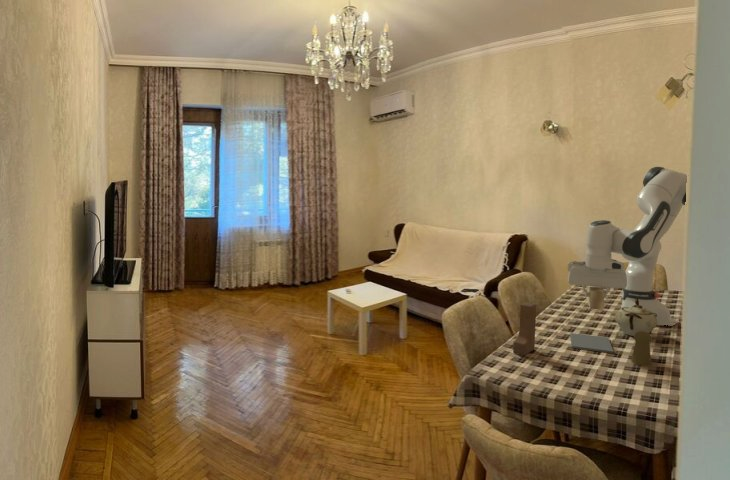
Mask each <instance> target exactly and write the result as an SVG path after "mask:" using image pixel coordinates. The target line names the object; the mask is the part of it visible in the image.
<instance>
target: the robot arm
mask: <svg viewBox="0 0 730 480" xmlns="http://www.w3.org/2000/svg"><path fill="white" fill-rule="evenodd" d="M687 175H688V174H686V173H683V172H678V171H675V170H671V169H668V168H665V167H663V166H654V167H651V168H650V169H649V170H647V172H646V173H645V175H644V177H643V181H642V185H643V188H641V190H640V191H638V192H639V193H638V194H637V196H636V204H637V207H638V208H639V210H641V212H643V213H644V215H643V217H642V219H641V220H640V222H638V224H637V225H636V227H635V228H634V229H631V230H630V229H623V228H620V227H618V226H615V225H614V224H612V222H611V221H610V220H605V219H603V220H595V221H592V222H591V223H589V225H588V228H587V232H586V242H585V244H586V251H585V256H584V257H585V259H584V261H576V260H572V261H570V262H569V263H568V265H567V271H568V276H567V283H568V284H569V285H573V286H581V288H582V290H583V291H584V297H585V298H587V297H589V292H587V288H588V286H597V287H602V288H605V290H604V292H605V296H604V299H607V295H608V294H609V292H611V288H612V289H613V288H614V289H622V291H621V298H622V301H621V306H620V309H621V308H623V307H628V306H634V305H636V304H635V299H638V300H639V306H642V307H643V308H645V309H647V310H649V311H651V312H652V313H653V314H654V315H655V317H656V319H657V325H656V326H664V325H666V327H668V326H669V327H674V326H673V325H675V324H676V325H677V321H676V319H675V318H673V317H671V312H670V310H669V308H668V307H667V306H666V305H665V304H663V303H662V302H661V301H660V300H659V298H660V297H661V296H660V293H658V292H657V291H655V290H653V283H654V273H655V269H656V266H657V262H658V258H659V255H660V252H661V249H662V243H661V241H660V240H661V239H662V238H663V237H664V236H665V235H666V234H667V233H668V231H669V229H671V226H672V225H673V223H674V222H675V220H676V219H677V217H678V215H679V214H680V212H681V210H682V207H683V206H686V205H685V202H686V183H687ZM612 253H613V254H617V255H621V257H623V259H625V260H627V261H629V262H628V265H627V267H626V269H625V264H624V262H622V261H620V260H617V259H613V258H612ZM667 325H668V326H667ZM676 325H675V326H676Z"/></svg>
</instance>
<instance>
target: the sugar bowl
mask: <svg viewBox="0 0 730 480" xmlns="http://www.w3.org/2000/svg"><path fill="white" fill-rule="evenodd" d="M635 304H636V305H634V306H628V307H623V308H621V307H620V309H618V310H617V311H616V312H615V315H614V319H615V322H616V324H617V325H618V327H619V328H620V330H621V332H622V333H623V334H625V335H626V336H629V337H630V336H631V337H634V335H635V333H636V332H646V333H649V334H650V333H651V332H652V331H653V330H654V329H655V328H656V327H657V326H658V325H657V319H656V317H655V315H654V314H653V313H652V312H651V311H649V310H647V309H645V308H643V307H642V306H639V300H638V299H635Z"/></svg>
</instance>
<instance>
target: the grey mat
mask: <svg viewBox="0 0 730 480" xmlns="http://www.w3.org/2000/svg"><path fill="white" fill-rule="evenodd" d="M569 333H570V342H571V349H578V350H585V351H593V352H601V353H608V354H614V348H613V347H612V343H611V340H610V338H609V336H600V335H593V334H584V333H576V332H575V333H574V332H569Z"/></svg>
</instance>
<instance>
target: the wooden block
mask: <svg viewBox="0 0 730 480" xmlns="http://www.w3.org/2000/svg"><path fill="white" fill-rule="evenodd" d="M536 316H537V304H536V303H532V302H523V303H521V304H520V307H519V329H518V335H517V337H516V339H515V340H513V344H512V345H513V348H512V352H513V354H517V355H519V356H523V357H524V356H526V355H528V354H530V353H531V352H532V351H534V350H535V343H536V341H535V340H536V322H537V317H536Z"/></svg>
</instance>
